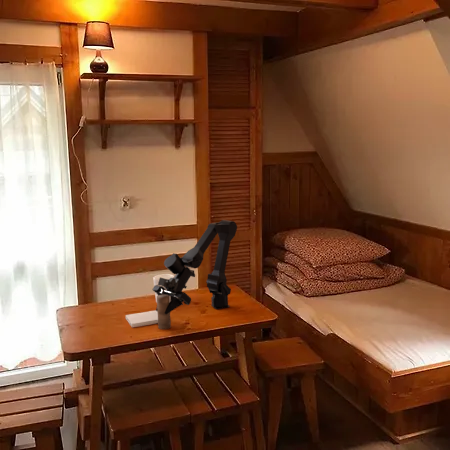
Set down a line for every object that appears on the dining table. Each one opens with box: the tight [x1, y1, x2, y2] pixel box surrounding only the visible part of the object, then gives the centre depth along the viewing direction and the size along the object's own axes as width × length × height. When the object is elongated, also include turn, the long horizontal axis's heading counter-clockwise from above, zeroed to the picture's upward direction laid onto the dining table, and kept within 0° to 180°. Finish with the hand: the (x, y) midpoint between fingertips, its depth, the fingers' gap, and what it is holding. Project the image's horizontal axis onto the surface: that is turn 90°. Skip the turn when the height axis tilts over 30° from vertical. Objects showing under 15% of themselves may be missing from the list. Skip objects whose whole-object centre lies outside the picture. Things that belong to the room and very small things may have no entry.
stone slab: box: [125, 309, 158, 328], centre depth 227 cm, size 16×12×2 cm
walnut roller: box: [156, 295, 172, 330], centre depth 216 cm, size 5×5×13 cm
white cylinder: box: [152, 273, 175, 303], centre depth 250 cm, size 10×10×12 cm
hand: (161, 312), depth 215 cm, fingers closed on walnut roller, 5 cm apart
